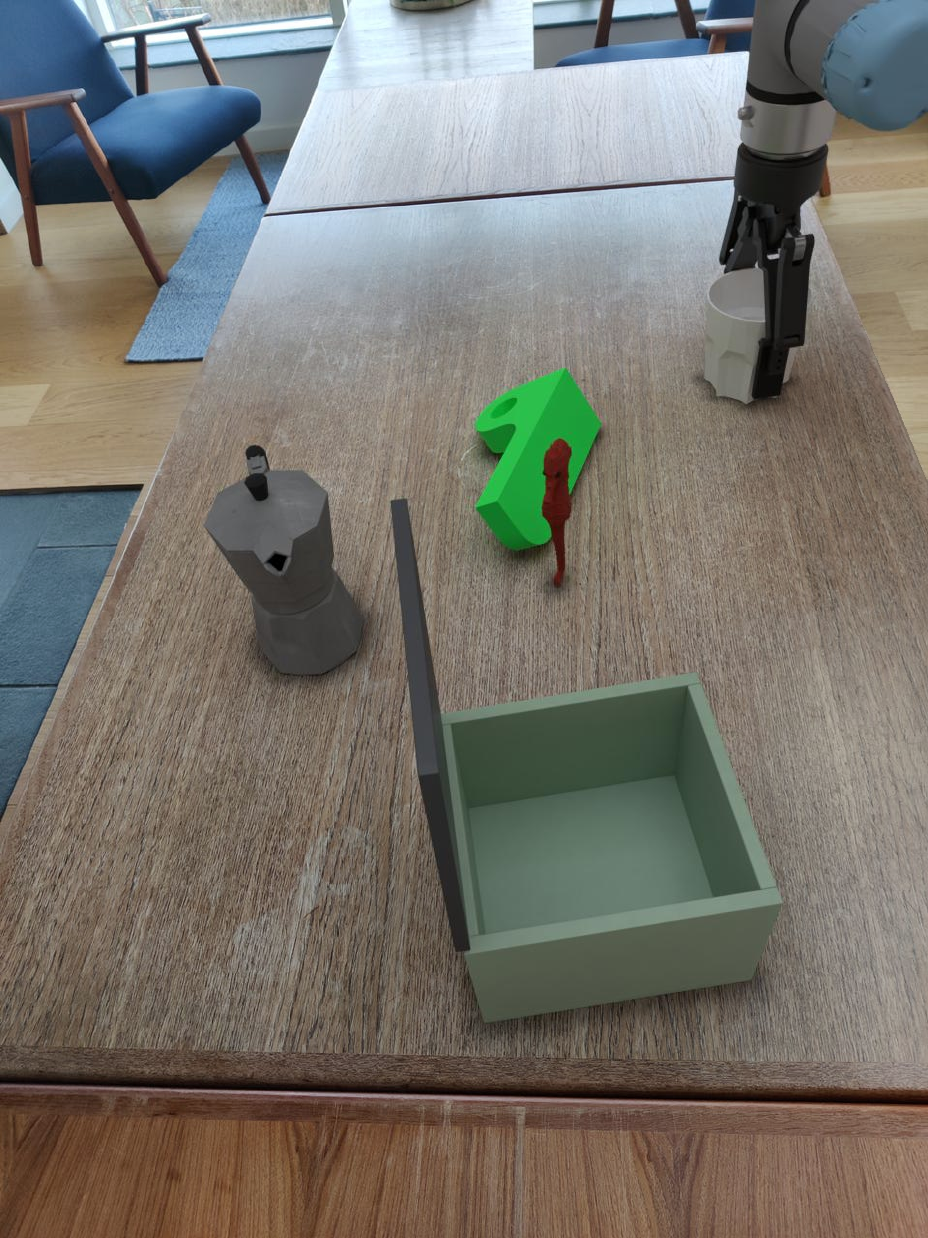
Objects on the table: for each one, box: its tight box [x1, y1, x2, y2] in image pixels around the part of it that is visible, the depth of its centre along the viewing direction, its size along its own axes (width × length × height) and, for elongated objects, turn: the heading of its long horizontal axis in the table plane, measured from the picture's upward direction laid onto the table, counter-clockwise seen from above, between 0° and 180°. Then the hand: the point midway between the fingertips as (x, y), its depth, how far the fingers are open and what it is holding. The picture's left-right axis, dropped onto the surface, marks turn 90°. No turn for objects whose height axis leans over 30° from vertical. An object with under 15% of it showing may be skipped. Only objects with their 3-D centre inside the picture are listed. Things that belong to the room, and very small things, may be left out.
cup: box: [704, 267, 815, 405], centre depth 90 cm, size 10×10×10 cm
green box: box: [441, 671, 784, 1024], centre depth 55 cm, size 17×15×12 cm
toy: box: [541, 438, 573, 587], centre depth 73 cm, size 2×5×15 cm, turn 159°
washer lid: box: [389, 497, 471, 953], centre depth 44 cm, size 18×15×1 cm
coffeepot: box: [203, 444, 365, 677], centre depth 71 cm, size 15×9×18 cm, turn 16°
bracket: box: [474, 366, 602, 551], centre depth 85 cm, size 20×10×7 cm, turn 159°
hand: (748, 365), depth 93 cm, fingers closed on cup, 10 cm apart
